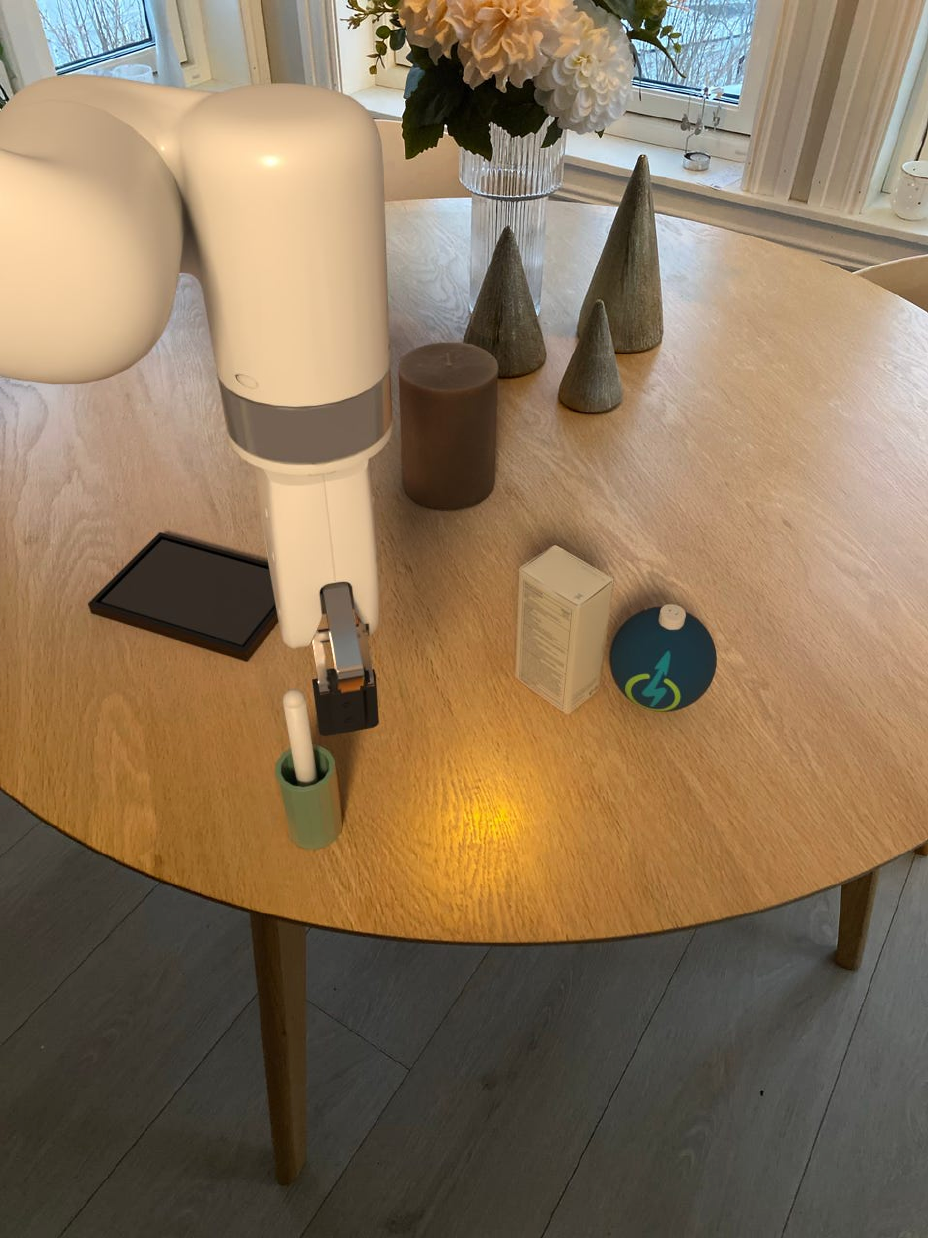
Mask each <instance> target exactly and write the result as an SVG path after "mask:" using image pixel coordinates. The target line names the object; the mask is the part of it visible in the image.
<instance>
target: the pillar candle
mask: <svg viewBox="0 0 928 1238" xmlns="http://www.w3.org/2000/svg"><path fill="white" fill-rule="evenodd" d="M397 369H398V370H397V371H398V395H399V396H398V397H399V399H398V401H399V421H400V422H399V428H400V429H399V430H400V431H399V432H400V460H401V462H400V463H401V466H400V467H401V475H402V476H401V478H402V487H403V490H404V491H405V493H406V495H407V496H408V497H409V498H411V499H412V500H413V501H415V503H418V504H420V505H422V506H423V507H426V508H428V509H433V510H439V511H459V510H462V509H463V510H464V509H467V508H472V507H475V506H477V505H479V504H482V503H483V501H485V500H486V499H488V498H489V497H490V495H491V494H492V492H493V491H494V488H495V477H496V476H495V475H496V471H495V470H496V452H497V451H496V450H497V449H496V448H497V421H498V391H499V363H498V361H497V359H496V358H495V357H494V356H493V354H491V353H490V352H489V351H487V350H485V349H483V348H481V347H478V346H476V345H474V344H472V343H465V342H459V341H458V342H456V341H455V342H454V341H453V342H442V341H441V342H437V343H435V342H434V343H433V342H432V343H429V344H425V345H422V346H418V347H416V348H413V349H412V350H410V351H408V352H407V353H405V354H401V356H400V357H399V362H398V367H397Z"/></svg>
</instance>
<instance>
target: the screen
mask: <svg viewBox="0 0 928 1238" xmlns="http://www.w3.org/2000/svg"><path fill="white" fill-rule="evenodd" d="M101 602H102V604H106V605H109V606H112V607H115V608H119V609H122V610H125V611H128V612H132V613H135V614H138V615H141V616H145V617H148V618H151V619H154V620H157V621H161V622H164V623H167V624H170V625H174V626H177V627H180V628H183V629H187V630H190V631H193V632H196V633H200V634H203V635H206V636H209V637H213V638H216V639H219V640H222V641H226V642H229V643H232V644H235V645H239V646H242V647H243V646H244V645H245V643H246V642H247V641H248V639H249V638H250V637H251V636H252V634H253V633H254V632H255V631H256V629H257V628H258V627H259V626H260V624H261V623H262V622H263V621H264V619H265V618H266V617H267V615H268V614H269V613H270V612H271V610H272V609H273V608H274V607H275V605H276V604H275V599H274V593H273V587H272V582H271V576H270V570H268V569H265V568H261V567H258V566H254V565H251V564H247V563H244V562H240V561H237V560H233V559H229V558H226V557H222V556H219V555H215V554H212V553H208V552H205V551H201V550H198V549H194V548H191V547H187V546H183V545H180V544H176V543H173V542H169V541H166V540H161V541H160V542H159V543H158V544H157V545H156V546H155V547H154V548H153V549H152V550H151V551H150V552H149V553H148V554H147V555H146V556H145V557H144V558H143V559H142V560H141V561H140V562H139V563H138V564H137V565H136V566H135V567H134V568H133V569H132V570H131V571H130V572H129V573H128V574H127V575H126V576H125V577H124V578H123V579H122V580H121V581H120V582H119V583H118V584H117V585H116V586H115V587H114V588H113V589H112V590H111V591H110V592H109V594H108V595H107V596H106V597H105V598H104V599H103V600H102V601H101Z"/></svg>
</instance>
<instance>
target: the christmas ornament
mask: <svg viewBox="0 0 928 1238" xmlns="http://www.w3.org/2000/svg"><path fill="white" fill-rule="evenodd" d="M608 662H609V668H610V672H611V676H612V679H613V681H614V683H615V685H616V686H617V688H618V689H619V691H620V692H621V693H622V694H623V696H624V697H625V698H626V699H628V700H629V701H630V702H632V703H633V704H634V705H636V706H637V707H640V708H643V709H645V710H648V711H653V712H660V713H669V712H675V711H679V710H682V709H684V708H685V709H686V708H687V707H689V706H691V705H692V704H694V703H696V702H697V701H698V700H700V699H701V698H702V697H703V696H704V694H705V693H706V692H707V691H708V689H709V688H710V686H711V684H712V683H713V680H714V678H715V675H716V672H717V667H718V666H717V665H718V654H717V648H716V644H715V642H714V639H713V637H712V635H711V633H710V631H709V630H708V628H707V627H706V626H705V624H704V623H703V622H702V621H700V619H698V617H696V616H695V615H693V614H692V613H689V612H688V611H686V610H685V609H684V608H683V607H682V606H680V605H678V604H674V603H669V604H667V603H666V604H665V605H663V606H653V607H648V608H645V609H642V610H640V611H638V612H636V613H634V614H633V615H631V616H630V617H629V618H627V619H626V620H625V621H624V622H623V623H622V625H620V626H619V628H618V629H617V631H616V632H615V635H614V637H613V639H612V641H611V645H610V649H609V661H608Z"/></svg>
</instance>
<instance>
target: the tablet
mask: <svg viewBox="0 0 928 1238" xmlns="http://www.w3.org/2000/svg"><path fill="white" fill-rule="evenodd" d="M161 540H166V541H169V542H173V543H176V544H180V545H183V546H187V547H191V548H194V549H198V550H201V551H205V552H208V553H212V554H215V555H219V556H222V557H226V558H229V559H233V560H237V561H240V562H244V563H247V564H251V565H254V566H258V567H261V568H265V569H268V570H269V564H268V561H265V560H261V559H258V558H254V557H251V556H247V555H243V554H240V553H237V552H233V551H230V550H227V549H222V548H219V547H215V546H211V545H208V544H204V543H201V542H197V541H195V540H194V541H193V540H190V539H186V538H183V537H179V536H176V535H172V534H169V533H165V532H162V531H159V532H158V533H157V534H156V535H155V536H154V537H153V538H152V539H151V540H150V541H149V542H148V543H146V545H145V546H143V548H142V549H140V551H139V552H138V553H137V554H136V555H135V556H134V557H133V558H132V559H131V560H130V561H129V562H128V563H127V564H126V565H125V566H124V567H122V569H121V570H120V571H118V573H116V575H115V576H114V577H113V578H112V579H111V580H110V581H109V582H107V584H105V586H104V587H103V588H102V589H101V590H100V591H99V592H98V593H97V594H96V595H95V596H93V598H92V599H90V601H89V602H88V603H87V605H88V609H89V611H90V614H92V615H96V616H99V617H101V618H105V619H107V620H111V621H115V622H118V623H121V624H123V625H128V626H130V627H134V628H136V629H140V630H144V631H147V632H150V633H152V634H156V635H159V636H162V637H166V638H169V639H172V640H176V641H178V642H182V643H185V644H189V645H191V646H194V647H197V648H201V649H204V650H207V651H211V652H213V653H218V654H220V655H223V656H227V657H229V658H233V659H236V660H240V661H243V662H246V663H248V662H249V661H250V660H251V658H252V657H253V656H254V654H255V653H257V651H258V649H259V648H260V647H261V645H262V644H263V643H264V641H265V640H266V639H267V637H268V636H269V635H270V634H271V632H272V631H274V628H275V627H276V626H277V625H278V624H279V621H278V616H277V610H276V605H275V607H274V608H273V609H272V610H271V612H270V613H269V614H268V615H267V617H266V618H265V619H264V621H263V622H262V623H261V624H260V626H259V627H258V628H257V629H256V631H255V632H254V633H253V634H252V636H251V637H250V638H249V639H248V641H247V642H246V643H245V645H244V646H243V647H242V646H239V645H235V644H232V643H229V642H226V641H222V640H219V639H216V638H213V637H209V636H206V635H203V634H200V633H196V632H193V631H190V630H187V629H183V628H180V627H177V626H174V625H170V624H167V623H164V622H161V621H157V620H154V619H151V618H148V617H145V616H141V615H138V614H135V613H132V612H128V611H125V610H122V609H119V608H115V607H112V606H109V605H106V604H102V602H101V601H102V600H103V599H104V598H105V597H106V596H107V595H108V594H109V592H110V591H111V590H112V589H113V588H114V587H115V586H116V585H117V584H118V583H119V582H120V581H121V580H122V579H123V578H124V577H125V576H126V575H127V574H128V573H129V572H130V571H131V570H132V569H133V568H134V567H135V566H136V565H137V564H138V563H139V562H140V561H141V560H142V559H143V558H144V557H145V556H146V555H147V554H148V553H149V552H150V551H151V550H152V549H153V548H154V547H155V546H156V545H157V544H158V543H159V542H160V541H161Z"/></svg>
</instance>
